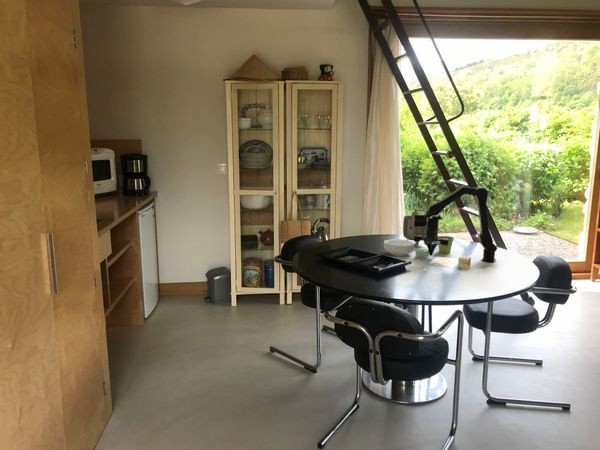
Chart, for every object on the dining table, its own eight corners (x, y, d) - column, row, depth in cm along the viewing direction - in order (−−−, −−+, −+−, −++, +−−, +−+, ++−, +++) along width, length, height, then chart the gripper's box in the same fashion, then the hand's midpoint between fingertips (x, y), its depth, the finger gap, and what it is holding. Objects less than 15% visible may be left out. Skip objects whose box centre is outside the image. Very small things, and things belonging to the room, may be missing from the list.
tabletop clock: (402, 242, 300) (404, 202, 296) (415, 241, 303) (417, 202, 299) (414, 247, 287) (416, 206, 282) (427, 246, 290) (429, 205, 285)
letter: (437, 256, 266) (437, 256, 266) (461, 259, 259) (461, 259, 259) (427, 263, 251) (427, 263, 251) (453, 267, 244) (453, 267, 244)
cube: (460, 265, 249) (460, 255, 248) (470, 266, 246) (471, 257, 245) (457, 267, 244) (458, 258, 244) (468, 269, 242) (468, 259, 241)
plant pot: (456, 253, 273) (457, 238, 272) (443, 254, 270) (444, 239, 268) (446, 249, 282) (447, 235, 280) (432, 251, 278) (433, 236, 277)
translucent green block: (418, 255, 269) (418, 248, 268) (429, 256, 266) (430, 249, 265) (415, 257, 263) (415, 250, 263) (426, 259, 260) (426, 251, 259)
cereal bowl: (405, 259, 259) (406, 246, 258) (378, 255, 269) (378, 242, 268) (418, 253, 272) (419, 241, 271) (391, 249, 282) (392, 237, 281)
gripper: (410, 227, 257) (409, 256, 260) (446, 231, 247) (444, 261, 250) (417, 224, 266) (416, 252, 269) (451, 228, 257) (449, 256, 259)
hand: (431, 255), depth 262 cm, fingers closed
